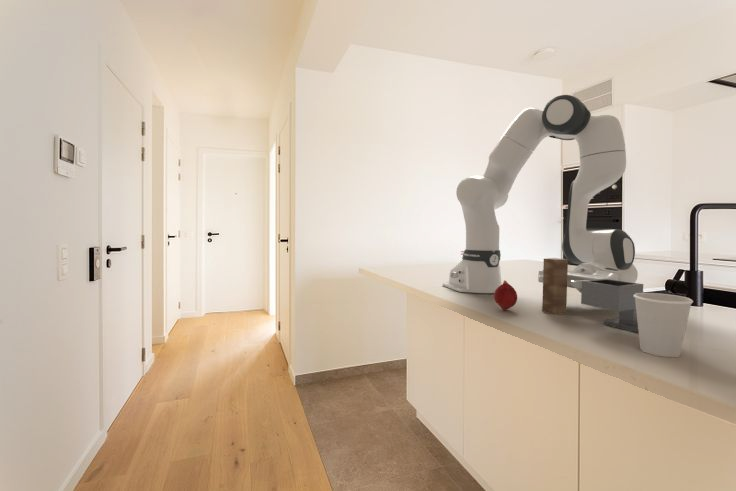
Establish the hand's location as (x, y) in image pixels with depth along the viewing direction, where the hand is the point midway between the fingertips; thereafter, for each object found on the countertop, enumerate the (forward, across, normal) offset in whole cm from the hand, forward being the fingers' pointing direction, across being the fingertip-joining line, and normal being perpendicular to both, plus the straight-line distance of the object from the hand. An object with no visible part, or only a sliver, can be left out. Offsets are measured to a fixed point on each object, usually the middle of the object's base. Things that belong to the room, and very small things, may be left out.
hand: (555, 281), depth 96 cm
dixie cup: (+9, +29, +8) cm, 32 cm away
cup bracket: (+1, +17, +8) cm, 19 cm away
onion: (+10, -7, +8) cm, 15 cm away
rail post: (0, 0, +8) cm, 8 cm away
